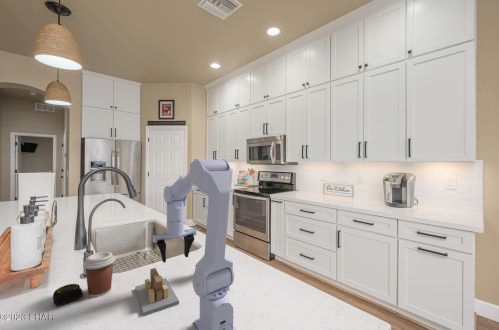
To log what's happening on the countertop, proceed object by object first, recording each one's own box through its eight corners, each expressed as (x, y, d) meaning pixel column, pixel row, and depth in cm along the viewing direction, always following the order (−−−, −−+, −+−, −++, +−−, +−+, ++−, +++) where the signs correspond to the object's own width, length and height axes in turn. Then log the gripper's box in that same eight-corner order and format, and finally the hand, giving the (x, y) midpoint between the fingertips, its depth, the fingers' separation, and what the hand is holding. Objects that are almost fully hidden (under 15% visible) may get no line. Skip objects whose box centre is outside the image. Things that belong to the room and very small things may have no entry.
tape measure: (54, 310, 67) (54, 297, 67) (52, 300, 72) (52, 288, 72) (82, 300, 72) (82, 288, 72) (79, 291, 77) (79, 280, 76)
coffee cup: (118, 282, 82) (118, 249, 82) (112, 296, 73) (111, 259, 73) (89, 286, 79) (88, 252, 79) (78, 301, 71) (78, 263, 70)
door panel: (162, 300, 70) (162, 280, 70) (156, 302, 69) (156, 282, 69) (155, 285, 78) (155, 267, 78) (150, 286, 78) (150, 269, 77)
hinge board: (179, 303, 70) (179, 290, 70) (143, 316, 64) (143, 301, 64) (165, 280, 83) (165, 269, 83) (135, 289, 78) (135, 277, 78)
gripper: (191, 215, 87) (191, 250, 87) (150, 220, 79) (150, 259, 79) (198, 219, 81) (198, 257, 81) (155, 225, 73) (155, 267, 73)
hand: (175, 258), depth 80 cm, fingers open, 7 cm apart
